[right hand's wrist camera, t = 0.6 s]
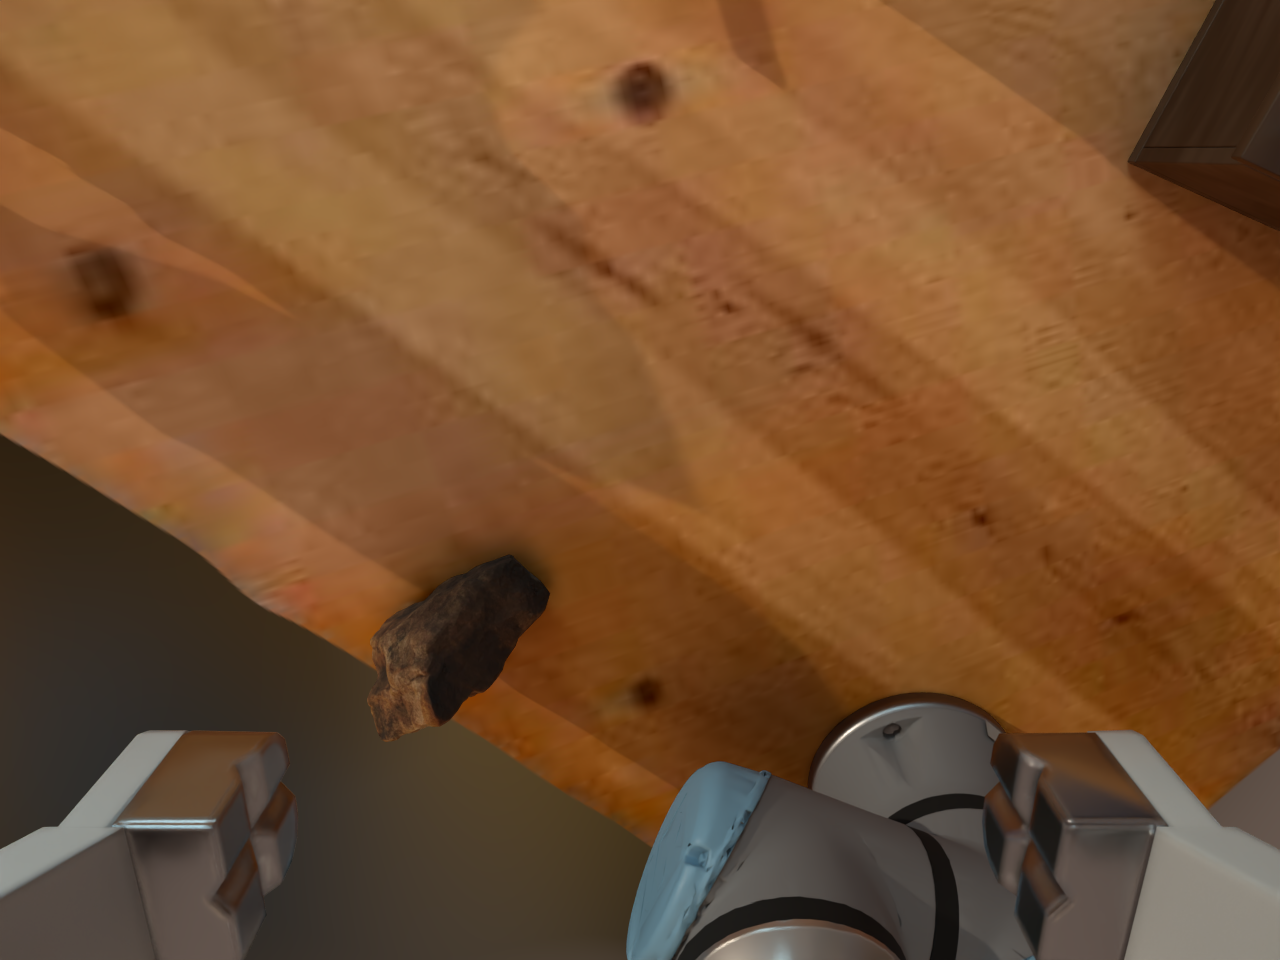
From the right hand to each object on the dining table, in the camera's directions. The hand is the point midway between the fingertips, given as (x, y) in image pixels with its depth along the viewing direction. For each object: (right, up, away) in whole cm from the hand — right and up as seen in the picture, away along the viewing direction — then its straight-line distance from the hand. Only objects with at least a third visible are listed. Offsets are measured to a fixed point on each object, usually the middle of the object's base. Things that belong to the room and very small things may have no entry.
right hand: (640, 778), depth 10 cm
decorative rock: (-12, -5, +52) cm, 53 cm away
